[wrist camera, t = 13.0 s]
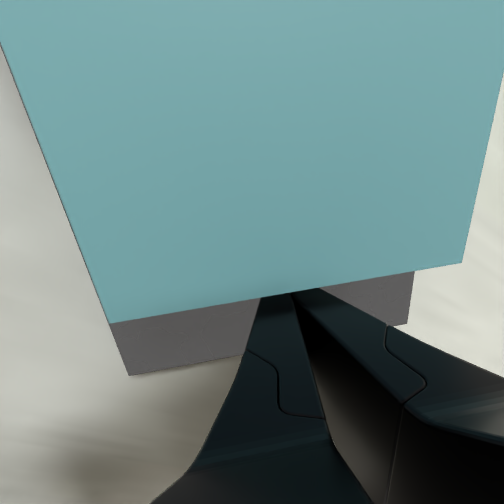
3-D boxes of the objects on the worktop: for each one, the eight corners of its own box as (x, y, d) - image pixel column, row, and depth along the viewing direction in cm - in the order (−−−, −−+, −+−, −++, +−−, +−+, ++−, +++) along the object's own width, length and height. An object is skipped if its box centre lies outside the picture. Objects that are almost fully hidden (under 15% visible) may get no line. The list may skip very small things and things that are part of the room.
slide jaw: (376, 209, 11) (461, 262, 7) (140, 245, 10) (109, 323, 7) (400, -119, 7) (590, -323, 4) (42, -96, 7) (-140, -321, 3)
